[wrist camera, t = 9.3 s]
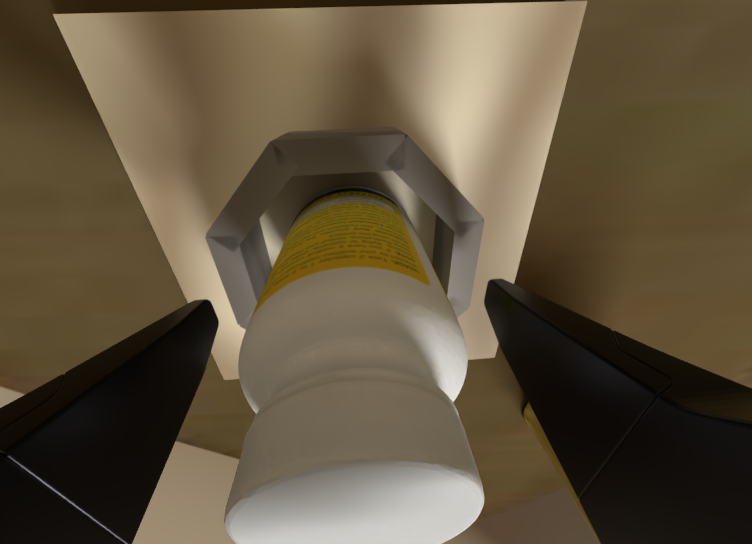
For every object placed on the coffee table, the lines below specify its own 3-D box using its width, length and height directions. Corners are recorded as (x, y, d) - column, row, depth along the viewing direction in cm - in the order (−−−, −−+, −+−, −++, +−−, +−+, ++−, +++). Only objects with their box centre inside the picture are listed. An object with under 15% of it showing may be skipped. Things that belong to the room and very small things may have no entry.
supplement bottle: (263, 236, 12) (75, 539, 4) (363, 153, 11) (410, 342, 2) (345, 312, 15) (341, 596, 6) (435, 252, 13) (583, 515, 5)
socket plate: (567, 9, 10) (661, -31, 7) (488, 345, 18) (515, 394, 15) (80, 22, 9) (-52, -16, 6) (230, 366, 17) (205, 421, 14)
